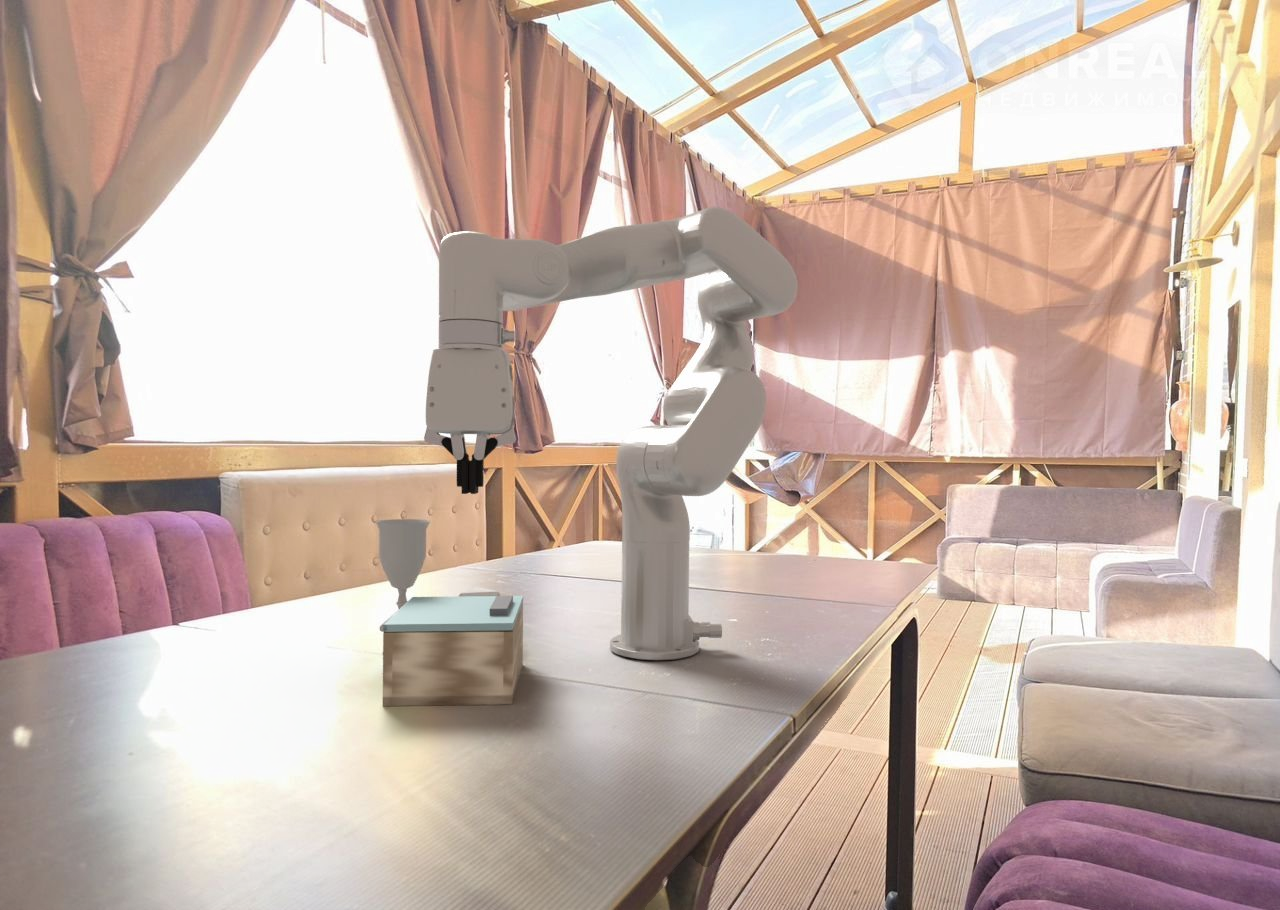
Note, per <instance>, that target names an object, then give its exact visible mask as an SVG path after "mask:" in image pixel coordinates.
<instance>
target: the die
mask: <svg viewBox="0 0 1280 910" xmlns="http://www.w3.org/2000/svg"><path fill="white" fill-rule="evenodd" d="M461 596H502V595H501V593H500V592H499V591H497V590H494V589H490V588H484V587H479V586H475V587H473V588H470V589H468V590H465V591H462V592H460V593H459V594H458V596H457V597H461Z"/></svg>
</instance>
